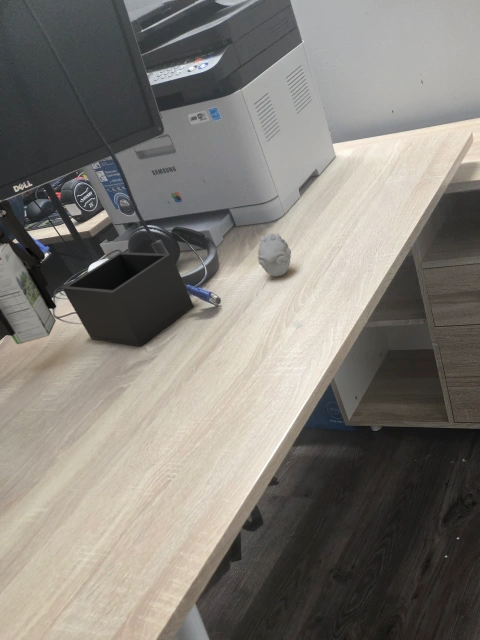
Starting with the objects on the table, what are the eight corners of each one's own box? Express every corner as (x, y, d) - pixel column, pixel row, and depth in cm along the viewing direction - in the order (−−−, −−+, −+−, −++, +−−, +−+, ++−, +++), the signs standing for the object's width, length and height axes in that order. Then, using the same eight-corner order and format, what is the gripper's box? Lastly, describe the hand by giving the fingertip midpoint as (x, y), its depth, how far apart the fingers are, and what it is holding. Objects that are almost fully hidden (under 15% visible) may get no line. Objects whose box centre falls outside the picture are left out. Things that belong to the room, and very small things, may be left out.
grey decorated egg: (299, 263, 121) (288, 225, 116) (292, 280, 116) (279, 241, 111) (269, 268, 122) (256, 231, 118) (260, 285, 117) (247, 247, 113)
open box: (91, 339, 116) (61, 288, 110) (144, 301, 124) (120, 251, 117) (140, 346, 109) (112, 292, 103) (194, 306, 117) (171, 253, 110)
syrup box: (25, 329, 112) (-27, 247, 102) (58, 320, 112) (8, 237, 102) (16, 345, 108) (-39, 261, 98) (51, 336, 107) (-2, 250, 98)
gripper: (-115, 207, 85) (-10, 356, 101) (14, 149, 97) (90, 291, 112) (-140, 207, 89) (-36, 351, 104) (-14, 151, 100) (64, 288, 116)
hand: (29, 320), depth 108 cm, fingers closed on syrup box, 8 cm apart
